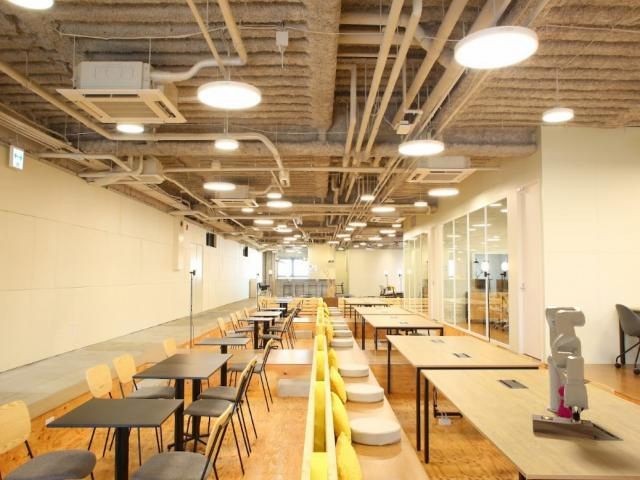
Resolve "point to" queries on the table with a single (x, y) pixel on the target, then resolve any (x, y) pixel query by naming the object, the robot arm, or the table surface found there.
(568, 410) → the pepper mill
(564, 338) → the robot arm
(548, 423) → the collar block
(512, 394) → the table surface
